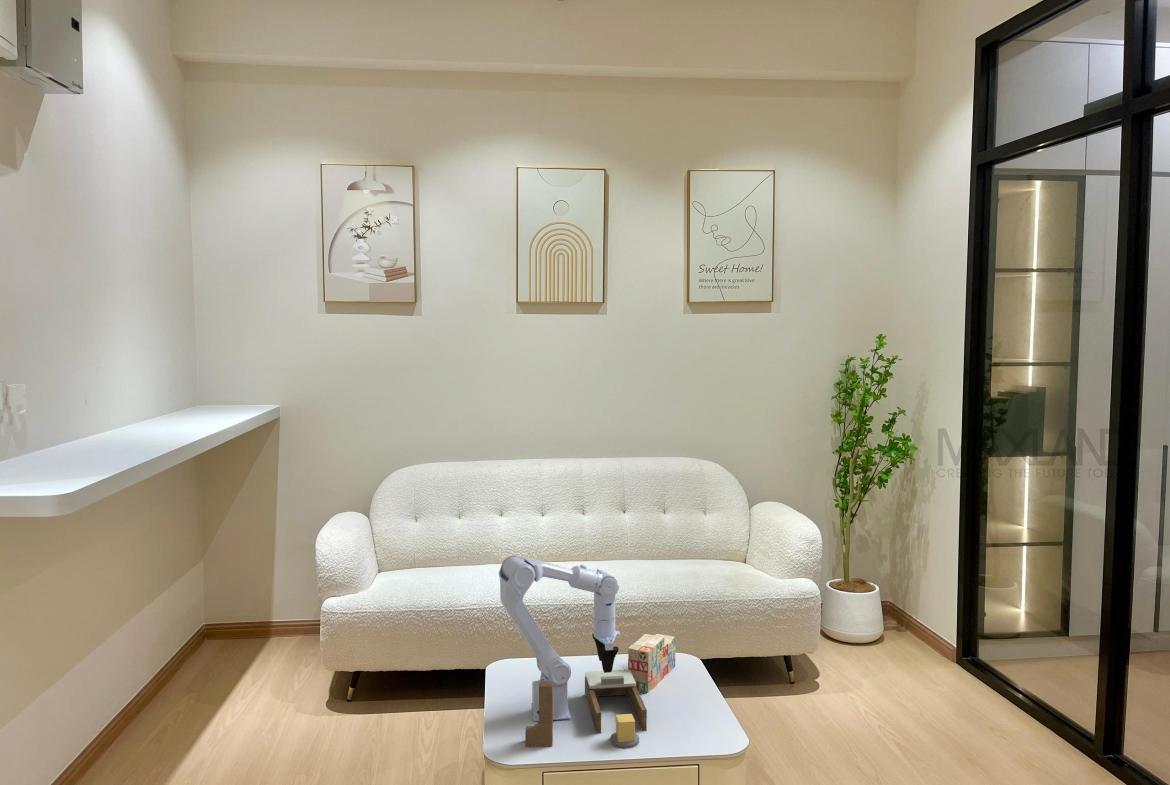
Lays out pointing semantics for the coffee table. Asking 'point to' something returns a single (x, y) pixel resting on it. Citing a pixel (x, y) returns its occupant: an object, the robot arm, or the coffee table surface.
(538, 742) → the wooden block
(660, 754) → the coffee table surface
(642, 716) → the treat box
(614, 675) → the lid
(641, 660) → the stack of blocks
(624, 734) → the ochre block
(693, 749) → the coffee table surface
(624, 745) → the coaster
